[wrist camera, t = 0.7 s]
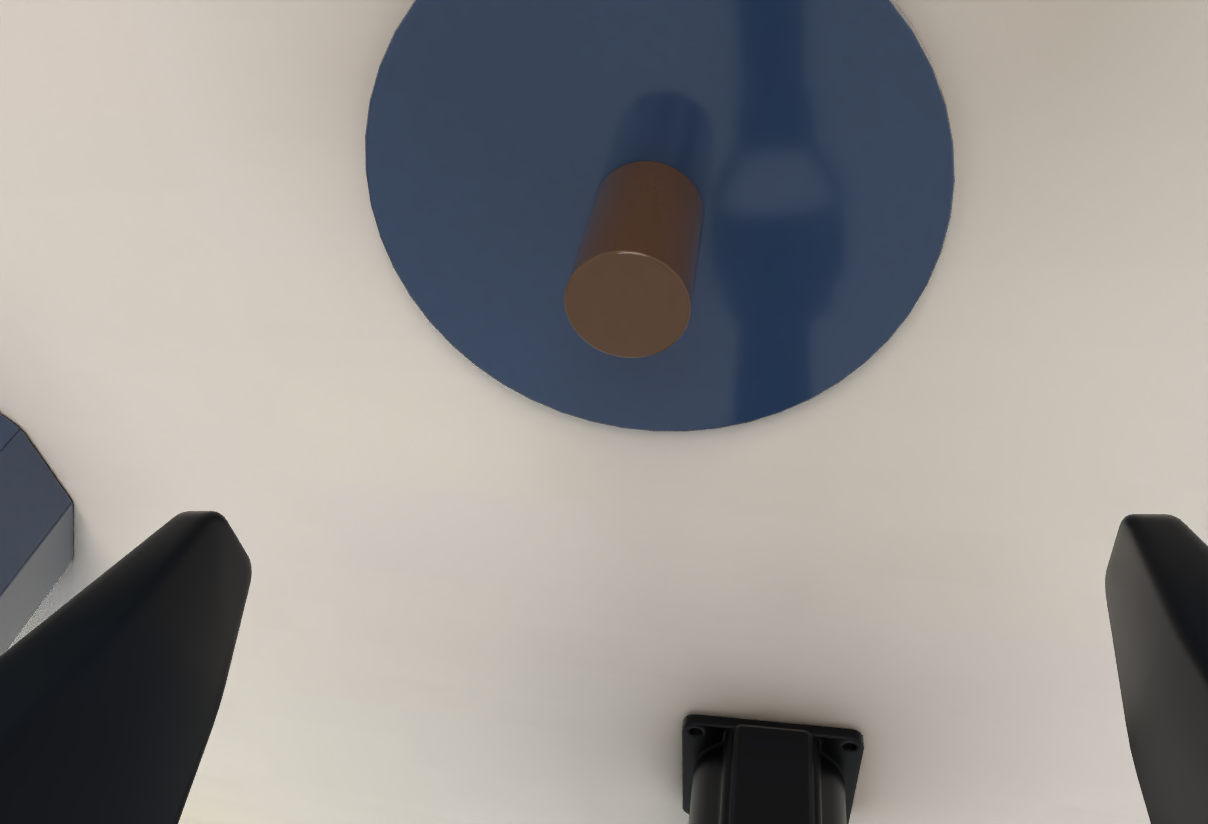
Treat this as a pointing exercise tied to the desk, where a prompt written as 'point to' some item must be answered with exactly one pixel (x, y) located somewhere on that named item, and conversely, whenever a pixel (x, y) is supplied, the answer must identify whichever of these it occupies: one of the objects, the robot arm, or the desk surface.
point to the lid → (661, 195)
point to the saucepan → (28, 531)
